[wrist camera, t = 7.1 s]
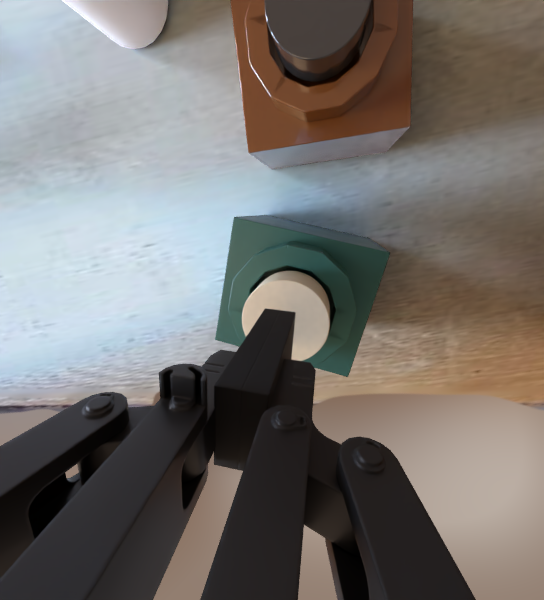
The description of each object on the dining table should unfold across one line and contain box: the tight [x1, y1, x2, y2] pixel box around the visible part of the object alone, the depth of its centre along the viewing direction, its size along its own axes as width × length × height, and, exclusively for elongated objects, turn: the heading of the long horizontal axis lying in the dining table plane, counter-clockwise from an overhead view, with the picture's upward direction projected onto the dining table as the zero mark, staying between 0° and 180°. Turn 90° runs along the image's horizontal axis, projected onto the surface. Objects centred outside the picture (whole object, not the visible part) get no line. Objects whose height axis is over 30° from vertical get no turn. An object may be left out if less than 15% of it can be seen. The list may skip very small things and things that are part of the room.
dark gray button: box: [264, 0, 371, 82], centre depth 14 cm, size 5×5×3 cm
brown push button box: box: [230, 0, 413, 169], centre depth 19 cm, size 10×10×10 cm
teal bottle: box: [215, 215, 390, 377], centre depth 23 cm, size 10×9×12 cm
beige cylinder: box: [242, 271, 330, 361], centre depth 17 cm, size 5×5×2 cm
